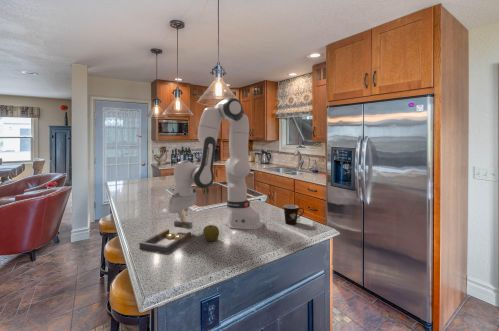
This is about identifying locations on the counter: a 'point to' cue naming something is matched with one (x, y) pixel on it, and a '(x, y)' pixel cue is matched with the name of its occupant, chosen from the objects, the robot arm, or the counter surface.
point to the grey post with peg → (183, 222)
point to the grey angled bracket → (155, 247)
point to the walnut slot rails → (182, 239)
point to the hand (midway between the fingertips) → (183, 217)
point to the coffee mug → (291, 214)
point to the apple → (211, 232)
